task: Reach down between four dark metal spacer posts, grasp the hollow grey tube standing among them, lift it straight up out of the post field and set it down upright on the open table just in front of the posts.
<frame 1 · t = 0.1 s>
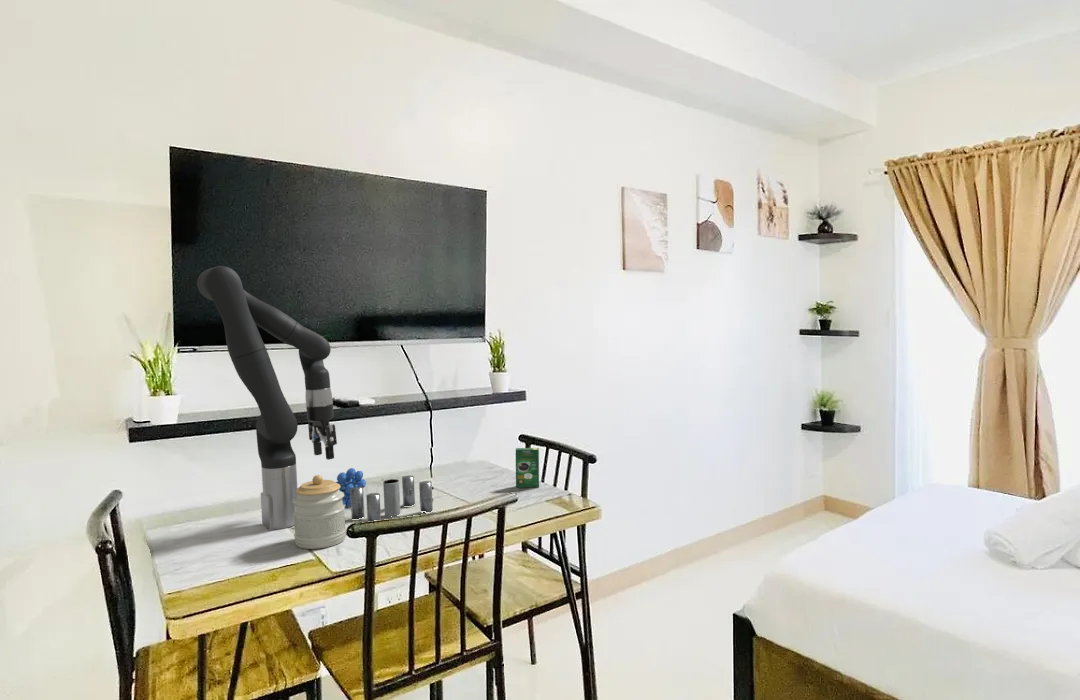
hand: (324, 456, 193), 17 cm above the table, tool pointing down, fingers open, 8 cm apart
hollow grey tube: (392, 516, 190), on the table
grapes: (347, 507, 201), on the table
spacer posts: (392, 515, 190), on the table
jar: (321, 541, 171), on the table
coffee box: (528, 487, 217), on the table
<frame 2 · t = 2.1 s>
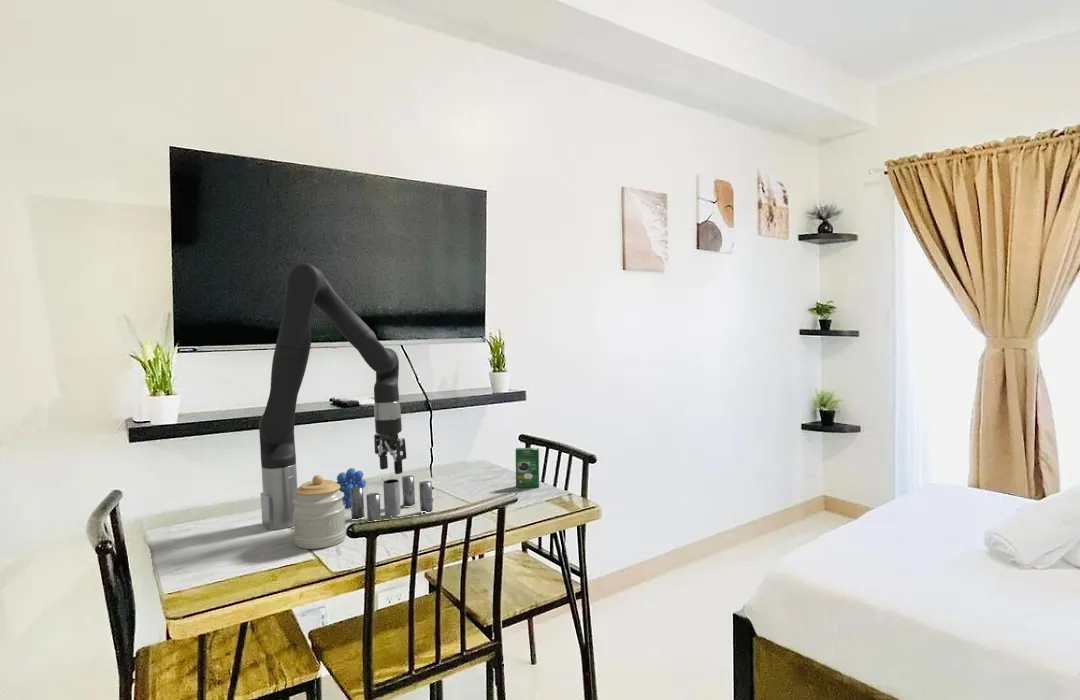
hand: (391, 471, 190), 13 cm above the table, tool pointing down, fingers open, 8 cm apart
nothing on the table moved.
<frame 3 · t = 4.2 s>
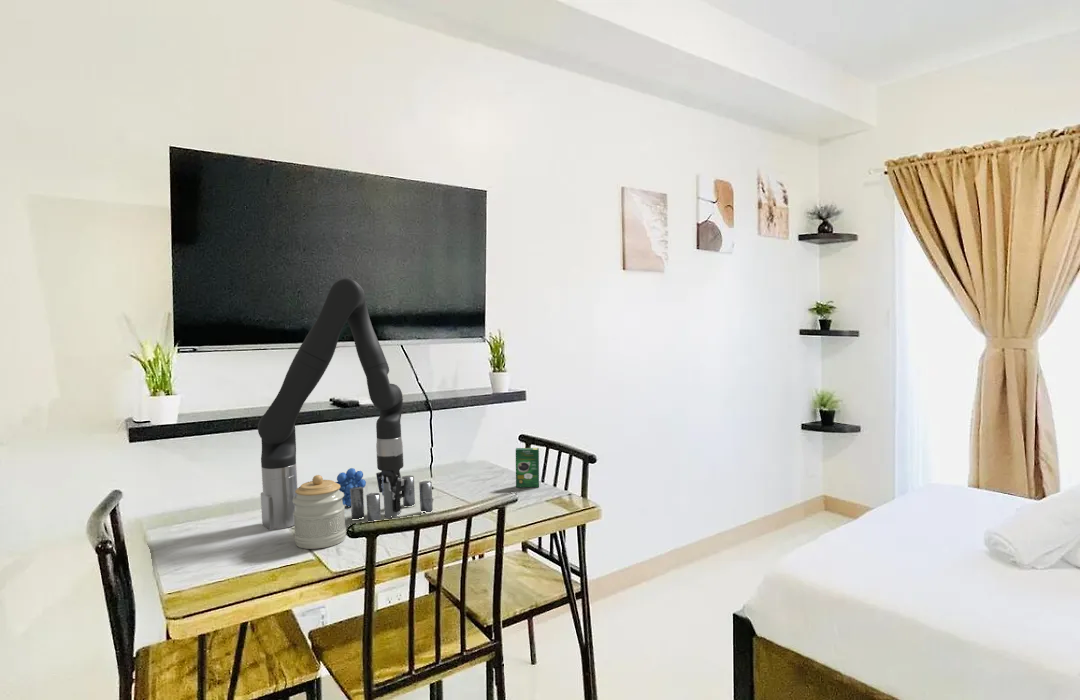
hand: (392, 509, 190), 2 cm above the table, tool pointing down, fingers closed on hollow grey tube, 4 cm apart
hollow grey tube: (392, 516, 190), on the table, touching gripper
everything else where it was.
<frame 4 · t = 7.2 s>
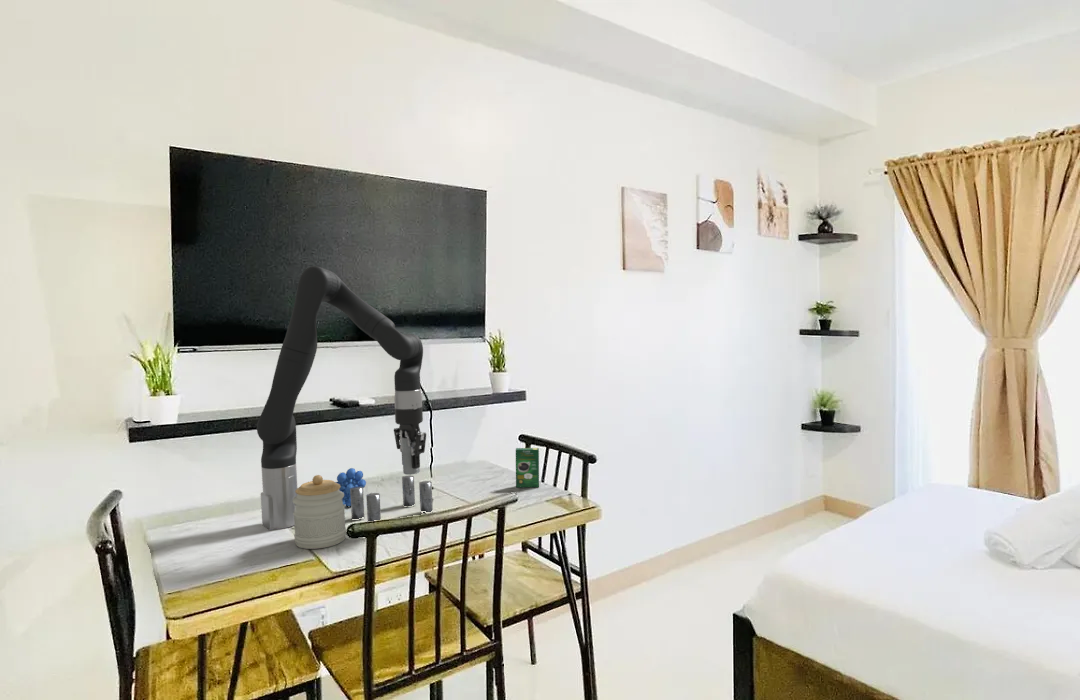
hand: (411, 466, 180), 17 cm above the table, tool pointing down, fingers closed on hollow grey tube, 4 cm apart
hollow grey tube: (411, 473, 181), point 15 cm above the table, touching gripper
everything else where it was.
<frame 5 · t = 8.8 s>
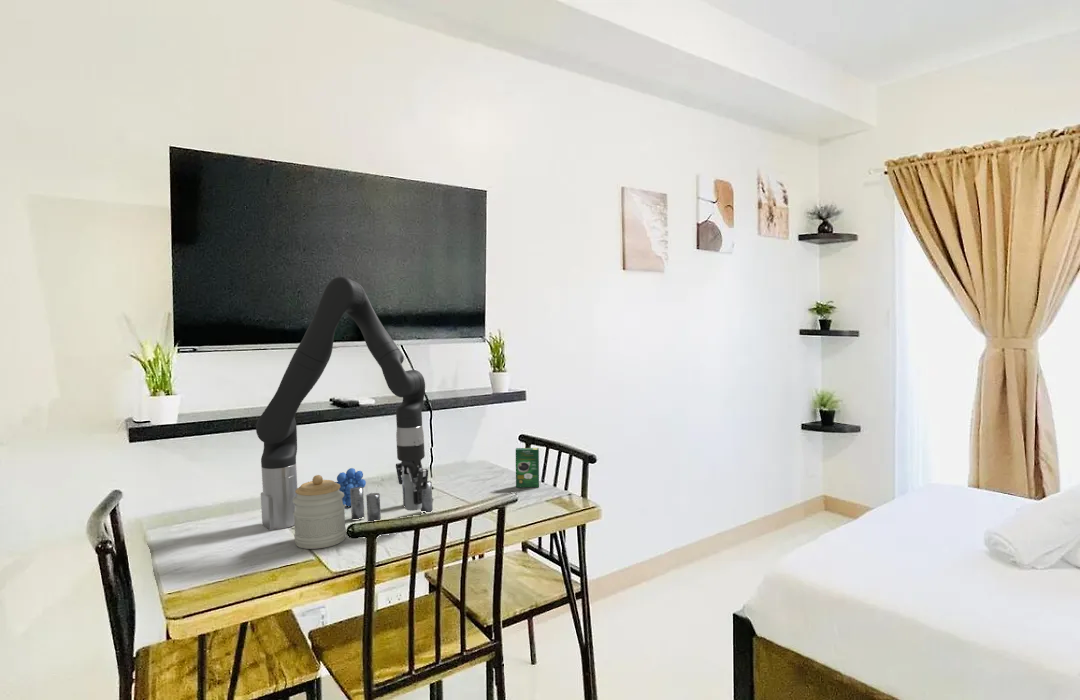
hand: (413, 501, 181), 6 cm above the table, tool pointing down, fingers closed on hollow grey tube, 4 cm apart
hollow grey tube: (413, 508, 181), point 4 cm above the table, touching gripper
everything else where it was.
when the fingers open (4 cm above the table, at t = 10.2 s): hollow grey tube drops 2 cm, on the table.
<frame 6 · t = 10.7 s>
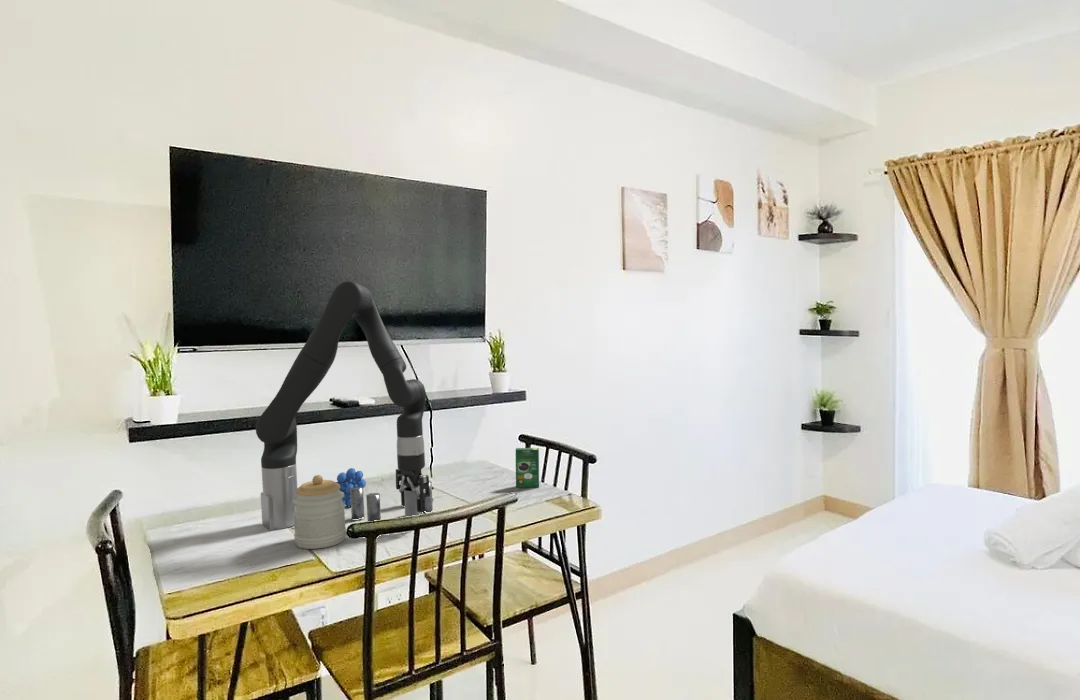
hand: (413, 508, 181), 5 cm above the table, tool pointing down, fingers open, 8 cm apart
hollow grey tube: (413, 525, 181), on the table
everything else where it was.
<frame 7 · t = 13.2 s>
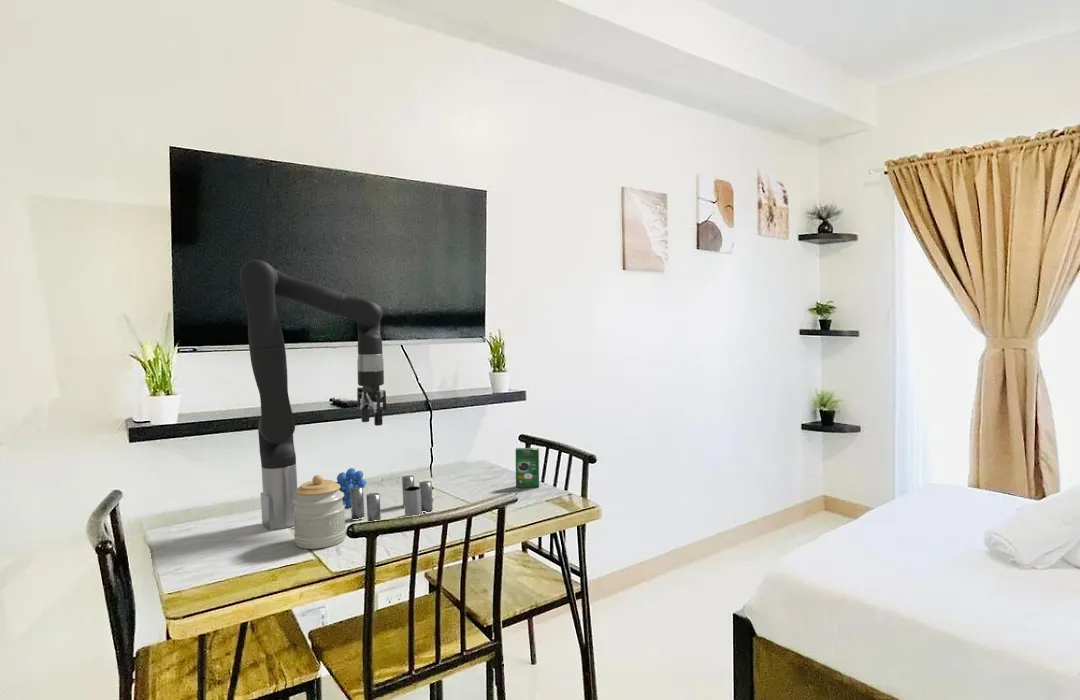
hand: (371, 423, 192), 27 cm above the table, tool pointing down, fingers open, 8 cm apart
nothing on the table moved.
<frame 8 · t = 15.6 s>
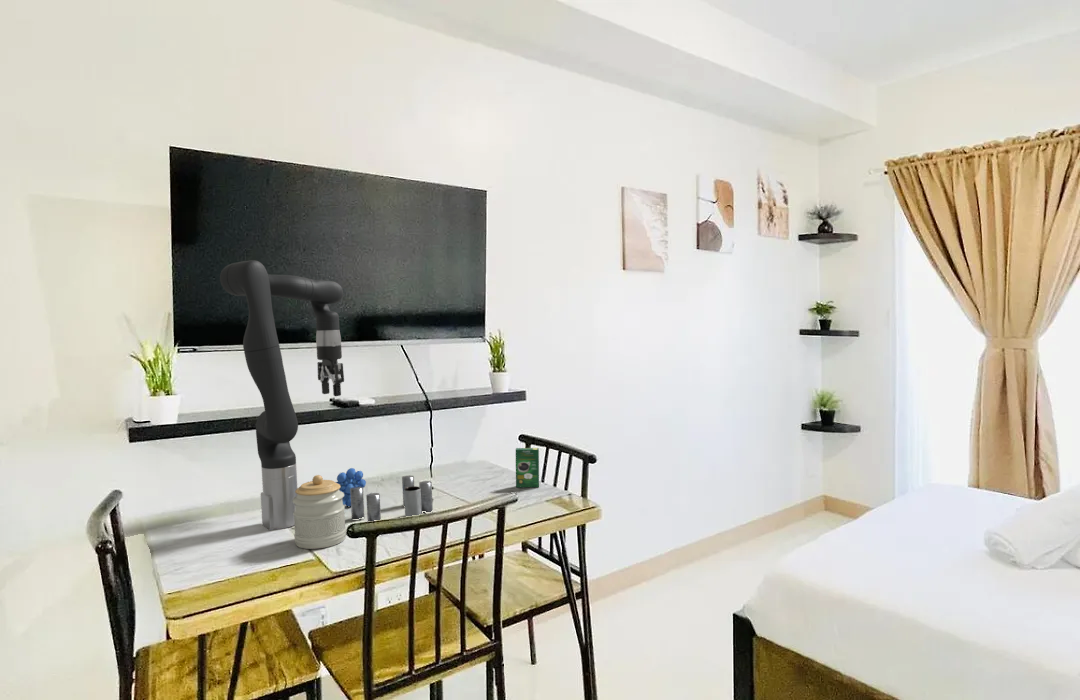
hand: (331, 394, 207), 34 cm above the table, tool pointing down, fingers open, 8 cm apart
nothing on the table moved.
at the end: hollow grey tube inside the target area (0.4 cm from its centre), on the table; hollow grey tube tilted 0°; the gripper is holding nothing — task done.
